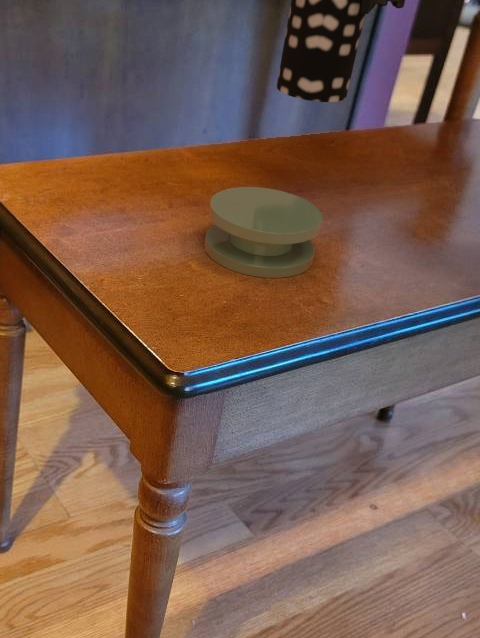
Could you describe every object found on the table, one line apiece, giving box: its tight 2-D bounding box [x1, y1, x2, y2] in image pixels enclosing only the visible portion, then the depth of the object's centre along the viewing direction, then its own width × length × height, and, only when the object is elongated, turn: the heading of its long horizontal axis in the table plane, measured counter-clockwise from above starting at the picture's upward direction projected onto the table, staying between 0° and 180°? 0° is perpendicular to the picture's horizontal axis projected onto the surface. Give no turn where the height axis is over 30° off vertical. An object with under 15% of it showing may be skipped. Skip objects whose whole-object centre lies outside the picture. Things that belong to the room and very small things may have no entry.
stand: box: [203, 186, 324, 279], centre depth 80 cm, size 12×12×5 cm
